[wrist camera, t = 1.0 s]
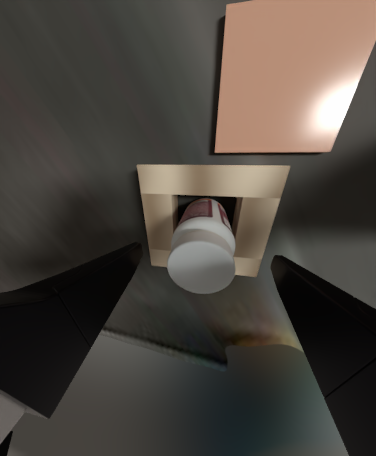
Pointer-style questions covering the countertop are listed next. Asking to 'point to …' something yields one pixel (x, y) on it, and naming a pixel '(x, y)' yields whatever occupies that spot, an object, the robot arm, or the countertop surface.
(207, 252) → the pill bottle
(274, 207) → the frame block
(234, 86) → the terracotta tile
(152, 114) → the countertop surface
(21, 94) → the countertop surface
